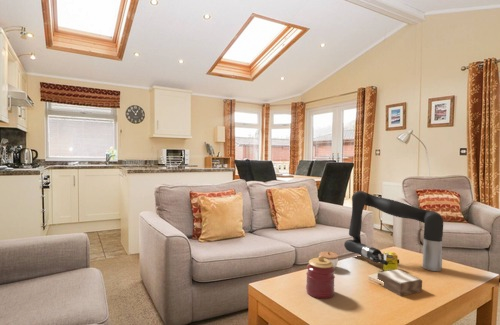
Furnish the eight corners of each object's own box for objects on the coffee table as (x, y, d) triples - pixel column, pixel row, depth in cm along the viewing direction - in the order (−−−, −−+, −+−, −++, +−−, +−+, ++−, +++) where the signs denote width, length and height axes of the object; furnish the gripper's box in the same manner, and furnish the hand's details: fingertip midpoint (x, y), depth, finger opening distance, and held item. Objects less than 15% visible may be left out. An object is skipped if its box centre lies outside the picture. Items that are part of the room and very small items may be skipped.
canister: (300, 288, 144) (301, 252, 144) (322, 284, 149) (323, 249, 149) (316, 301, 132) (318, 262, 132) (340, 296, 137) (341, 258, 137)
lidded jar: (323, 263, 180) (323, 247, 180) (340, 267, 174) (341, 251, 173) (315, 268, 171) (316, 252, 171) (334, 272, 165) (334, 256, 165)
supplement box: (397, 275, 164) (398, 255, 163) (385, 274, 165) (386, 254, 164) (394, 271, 169) (394, 252, 169) (382, 270, 171) (383, 251, 170)
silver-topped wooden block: (397, 280, 157) (398, 268, 157) (421, 291, 144) (422, 279, 144) (377, 283, 152) (377, 272, 152) (400, 296, 139) (400, 283, 139)
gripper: (362, 248, 178) (383, 257, 163) (380, 246, 183) (402, 254, 168) (361, 260, 178) (382, 270, 163) (380, 258, 183) (402, 267, 168)
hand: (393, 262), depth 165 cm, fingers closed on supplement box, 8 cm apart
